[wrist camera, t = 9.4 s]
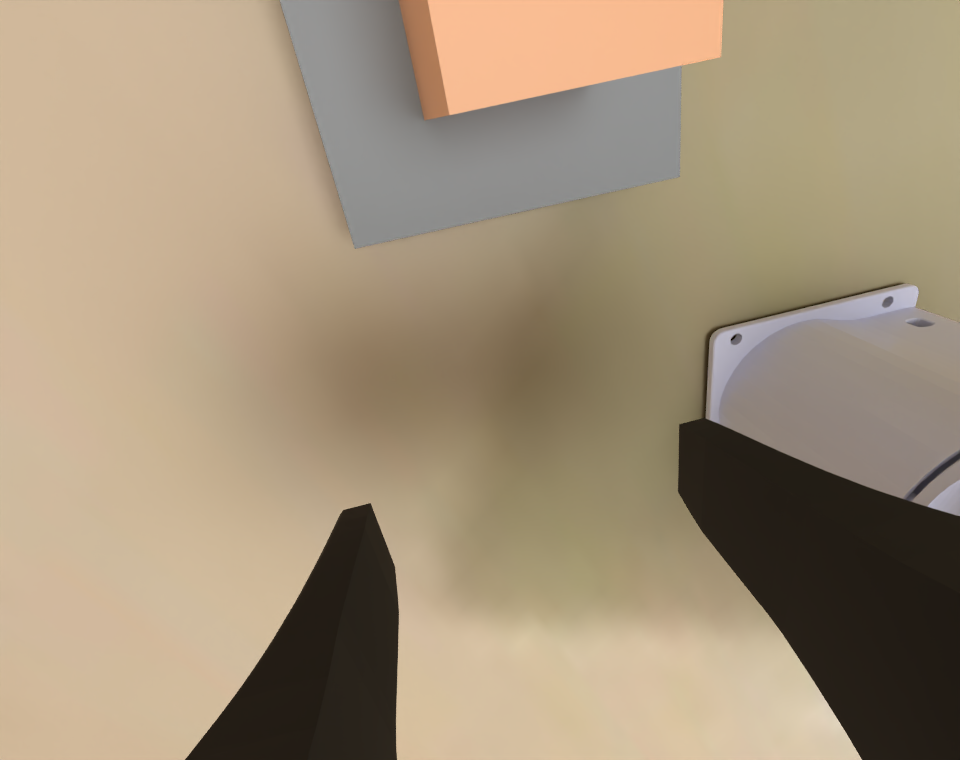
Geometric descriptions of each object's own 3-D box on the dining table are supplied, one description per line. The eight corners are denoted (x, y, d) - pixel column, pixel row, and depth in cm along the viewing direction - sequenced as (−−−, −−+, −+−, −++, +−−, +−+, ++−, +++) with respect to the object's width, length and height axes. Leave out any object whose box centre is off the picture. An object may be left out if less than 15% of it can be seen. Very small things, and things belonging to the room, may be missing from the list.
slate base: (625, -241, 13) (687, -336, 10) (635, 169, 18) (680, 177, 15) (240, -178, 12) (200, -263, 10) (359, 229, 17) (355, 248, 14)
